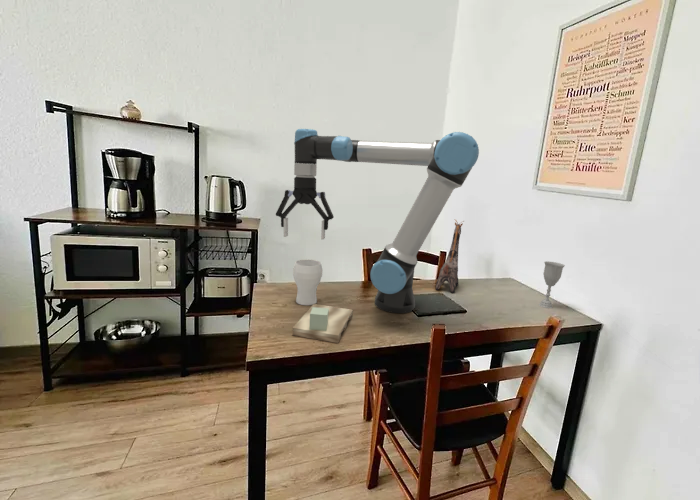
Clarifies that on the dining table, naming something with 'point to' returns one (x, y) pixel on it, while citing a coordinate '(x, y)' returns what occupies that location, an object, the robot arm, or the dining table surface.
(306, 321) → the dock
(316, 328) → the pale green cube
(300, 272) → the cup
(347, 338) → the dining table surface
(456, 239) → the toy
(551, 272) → the chalice
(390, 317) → the dining table surface
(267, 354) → the dining table surface
